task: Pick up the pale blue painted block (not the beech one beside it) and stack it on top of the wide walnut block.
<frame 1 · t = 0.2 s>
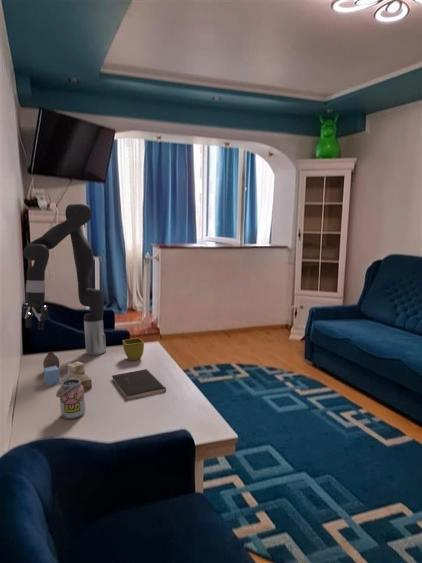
hand: (34, 328, 180), 22 cm above the table, tool pointing down, fingers open, 8 cm apart
beech block: (76, 377, 183), on the table
blue block: (52, 382, 178), on the table
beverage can: (71, 415, 148), on the table
hardcover book: (138, 386, 173), on the table
brown oval piece: (52, 371, 190), on the table
flower pot: (133, 359, 205), on the table
walnut base: (80, 388, 172), on the table
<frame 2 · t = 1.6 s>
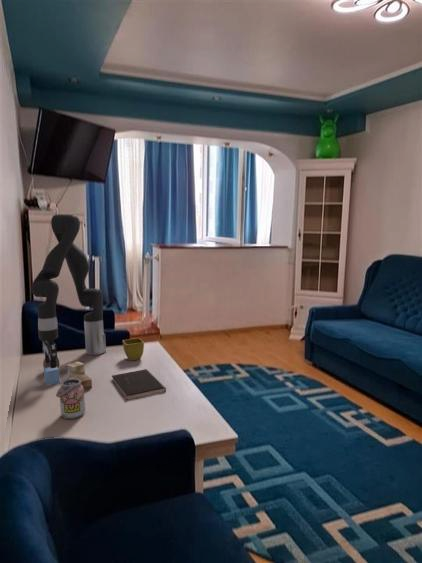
hand: (50, 365, 176), 8 cm above the table, tool pointing down, fingers open, 8 cm apart
nothing on the table moved.
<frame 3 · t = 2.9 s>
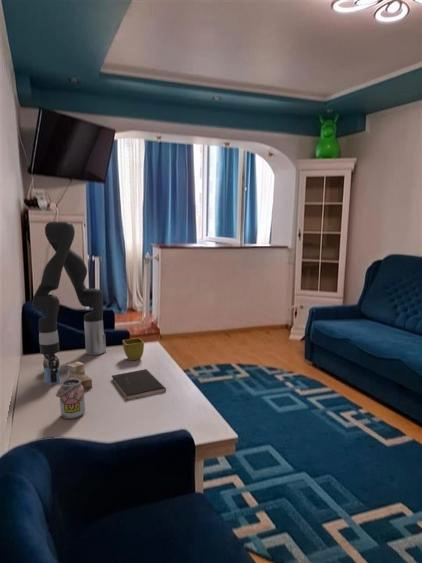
hand: (52, 379, 178), 1 cm above the table, tool pointing down, fingers closed on blue block, 5 cm apart
blue block: (52, 382, 178), on the table, touching gripper
everything else where it was.
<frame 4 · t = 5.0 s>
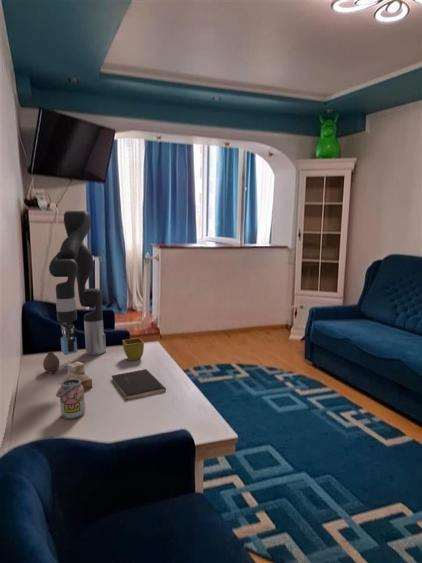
hand: (69, 349, 170), 16 cm above the table, tool pointing down, fingers closed on blue block, 5 cm apart
blue block: (69, 352, 170), point 15 cm above the table, touching gripper
everything else where it was.
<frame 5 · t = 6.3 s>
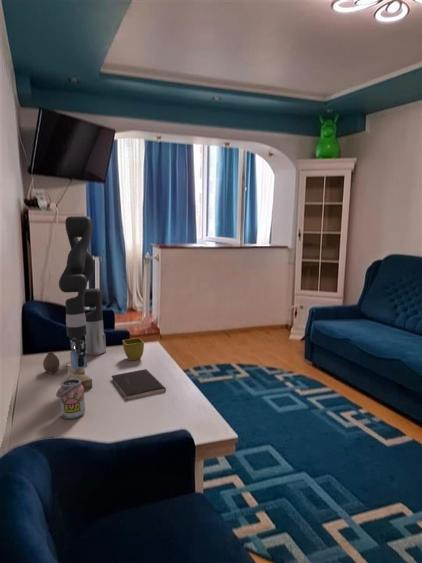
hand: (79, 364, 170), 10 cm above the table, tool pointing down, fingers closed on blue block, 5 cm apart
blue block: (79, 366, 170), point 9 cm above the table, touching gripper
everything else where it was.
when the fingers open (6 cm above the table, at t = 7.4 s): blue block drops 2 cm, point 4 cm above the table.
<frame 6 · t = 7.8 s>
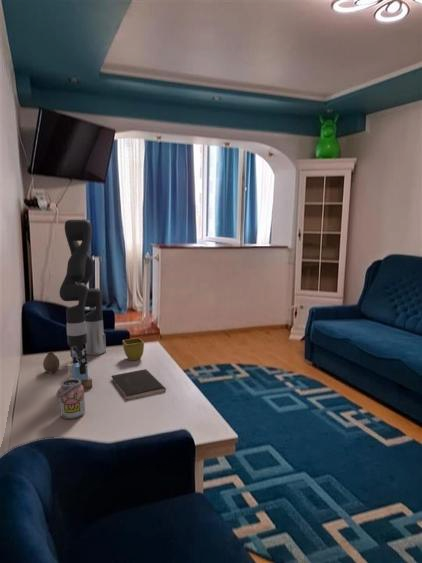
hand: (79, 370, 171), 7 cm above the table, tool pointing down, fingers open, 8 cm apart
blue block: (80, 378, 171), point 4 cm above the table
everything else where it was.
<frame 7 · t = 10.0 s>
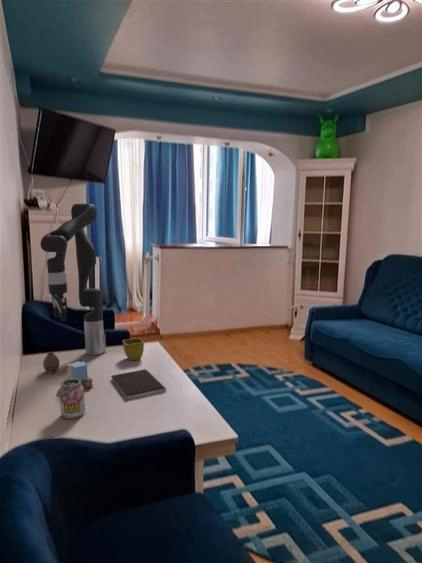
hand: (60, 318, 183), 25 cm above the table, tool pointing down, fingers open, 8 cm apart
blue block: (80, 378, 171), point 4 cm above the table, touching walnut base
walnut base: (80, 388, 172), on the table, touching blue block
everything else where it was.
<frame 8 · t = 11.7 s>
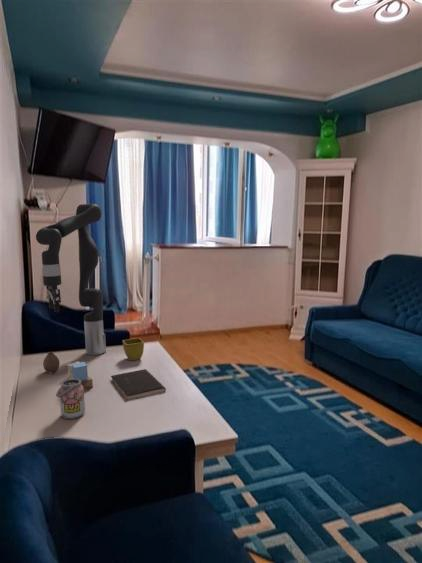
hand: (54, 310, 187), 28 cm above the table, tool pointing down, fingers open, 8 cm apart
nothing on the table moved.
at the end: blue block 0.3 cm off-centre on the walnut base, point 4.0 cm above the walnut base's base; blue block tilted 0°; the gripper is holding nothing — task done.
